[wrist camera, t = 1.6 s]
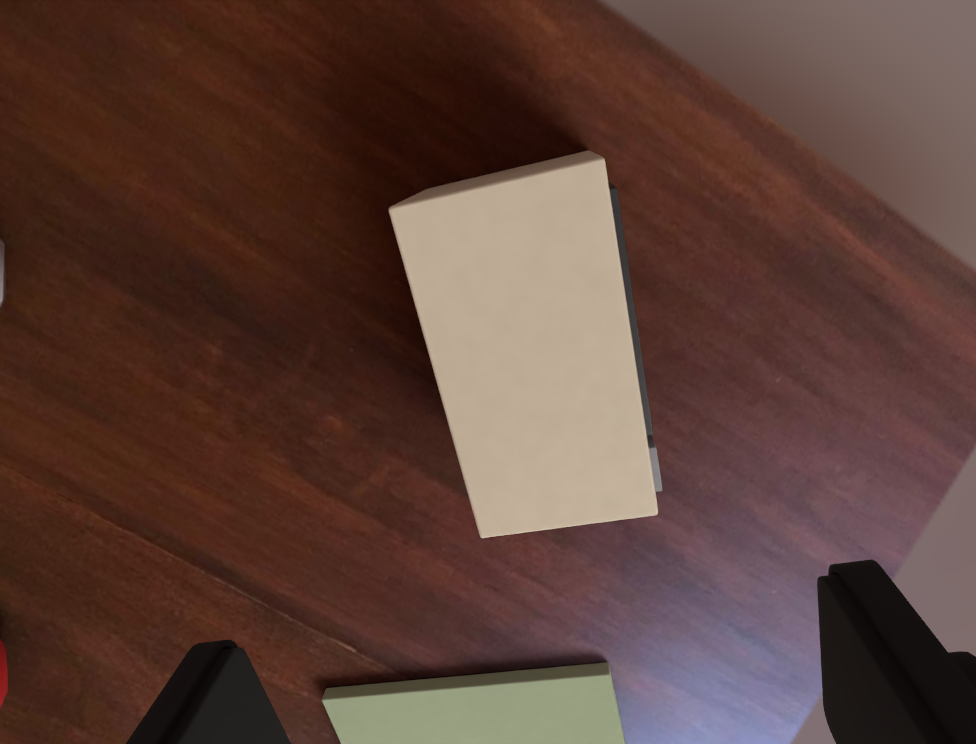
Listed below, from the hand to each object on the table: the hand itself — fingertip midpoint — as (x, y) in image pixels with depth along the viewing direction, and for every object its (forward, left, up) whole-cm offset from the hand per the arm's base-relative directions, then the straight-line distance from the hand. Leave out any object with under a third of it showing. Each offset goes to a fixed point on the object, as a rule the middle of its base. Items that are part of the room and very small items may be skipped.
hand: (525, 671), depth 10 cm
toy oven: (0, -1, -17) cm, 17 cm away
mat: (+8, +26, -17) cm, 32 cm away
